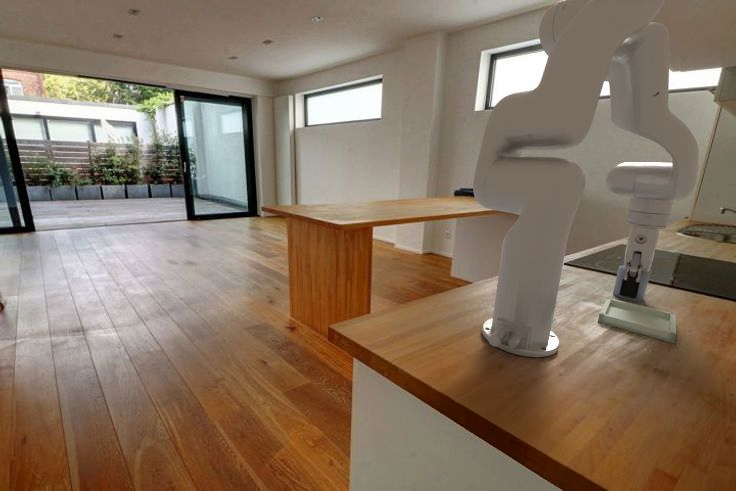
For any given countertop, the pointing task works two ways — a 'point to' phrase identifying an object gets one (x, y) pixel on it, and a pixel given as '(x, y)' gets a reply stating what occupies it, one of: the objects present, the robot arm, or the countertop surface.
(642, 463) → the countertop surface
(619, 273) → the blue grey cylinder
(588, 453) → the countertop surface
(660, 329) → the tray
